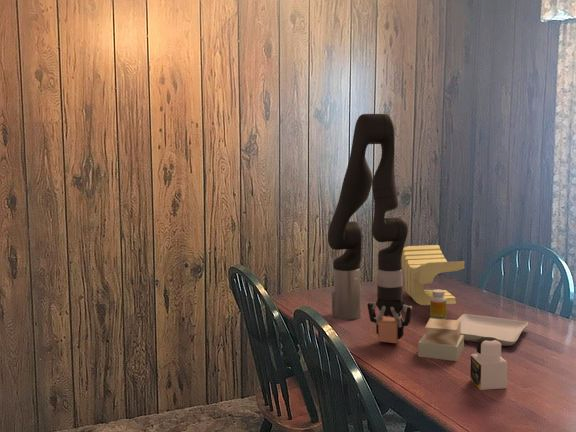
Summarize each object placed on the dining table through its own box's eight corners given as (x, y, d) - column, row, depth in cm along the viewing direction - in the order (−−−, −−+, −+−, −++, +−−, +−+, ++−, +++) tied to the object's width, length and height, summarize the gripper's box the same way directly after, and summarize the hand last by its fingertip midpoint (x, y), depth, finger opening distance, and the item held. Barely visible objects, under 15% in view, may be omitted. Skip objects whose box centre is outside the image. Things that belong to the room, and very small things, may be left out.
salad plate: (529, 331, 212) (529, 320, 211) (514, 352, 194) (515, 340, 193) (463, 322, 222) (463, 312, 222) (443, 341, 204) (443, 330, 204)
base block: (418, 357, 192) (418, 342, 191) (426, 345, 201) (426, 331, 201) (456, 362, 187) (457, 347, 186) (463, 349, 197) (463, 335, 196)
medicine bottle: (470, 379, 174) (470, 335, 172) (496, 377, 174) (497, 334, 173) (480, 390, 167) (480, 344, 165) (507, 388, 167) (508, 343, 166)
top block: (424, 342, 191) (424, 327, 190) (429, 332, 199) (429, 318, 199) (456, 345, 188) (456, 329, 187) (460, 335, 196) (460, 320, 196)
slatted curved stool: (399, 290, 264) (399, 246, 261) (438, 288, 265) (438, 244, 262) (419, 312, 234) (419, 263, 231) (464, 310, 235) (464, 260, 233)
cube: (378, 340, 202) (378, 322, 201) (383, 335, 207) (383, 316, 206) (396, 343, 199) (396, 324, 198) (401, 337, 204) (401, 318, 203)
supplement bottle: (446, 321, 223) (446, 293, 222) (430, 320, 224) (430, 292, 223) (446, 316, 228) (446, 288, 227) (430, 315, 229) (430, 288, 228)
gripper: (363, 284, 200) (363, 337, 202) (410, 288, 194) (409, 343, 196) (371, 278, 207) (371, 330, 209) (416, 282, 200) (416, 335, 203)
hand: (389, 336), depth 203 cm, fingers closed on cube, 5 cm apart
